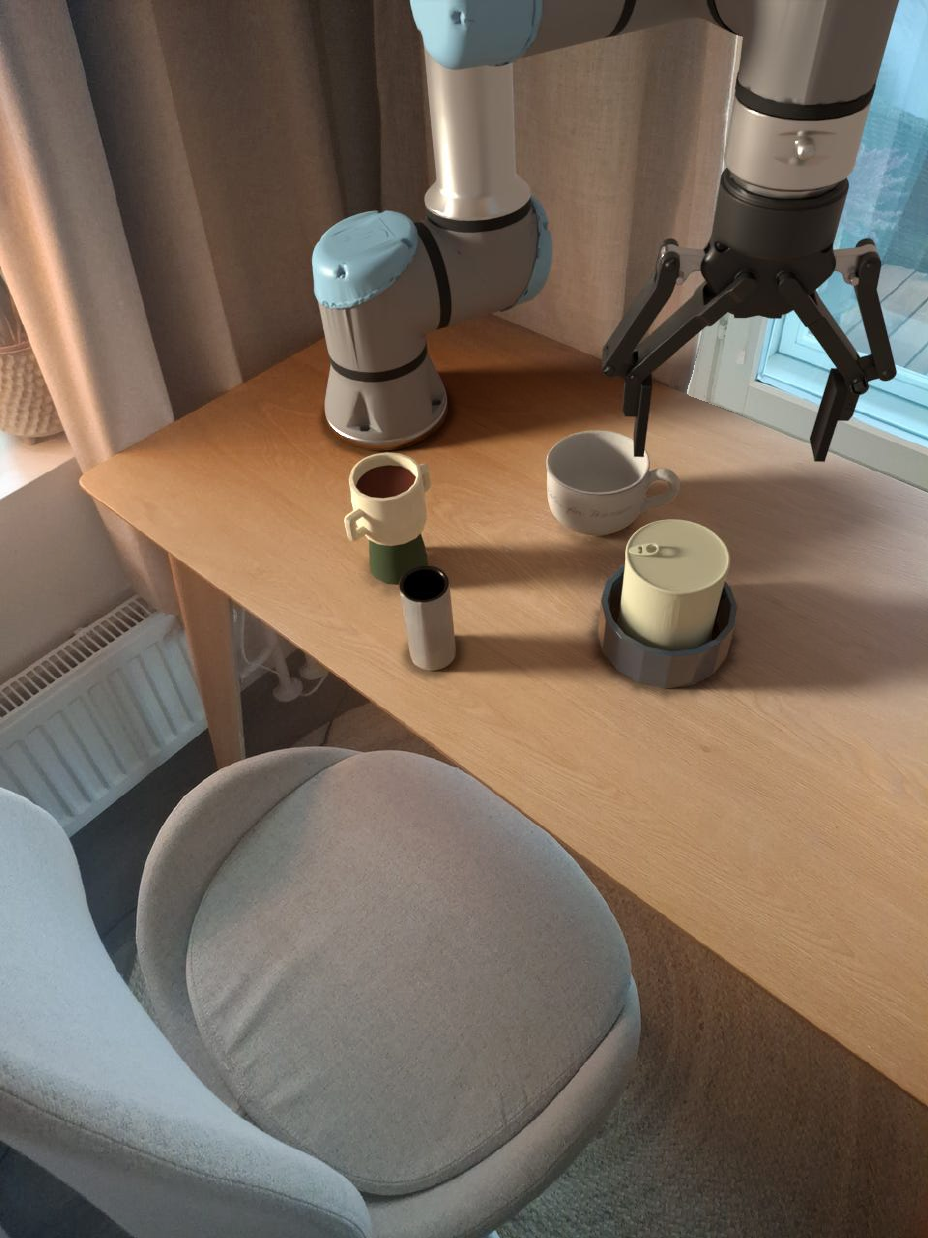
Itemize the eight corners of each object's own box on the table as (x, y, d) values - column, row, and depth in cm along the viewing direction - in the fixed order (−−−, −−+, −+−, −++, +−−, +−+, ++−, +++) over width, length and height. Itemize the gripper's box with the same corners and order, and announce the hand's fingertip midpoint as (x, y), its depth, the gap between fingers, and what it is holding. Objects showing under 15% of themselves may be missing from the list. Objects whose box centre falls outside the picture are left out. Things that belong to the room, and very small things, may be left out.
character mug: (414, 525, 101) (401, 432, 91) (459, 556, 97) (451, 463, 87) (339, 579, 96) (317, 487, 86) (383, 614, 93) (366, 522, 83)
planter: (400, 655, 89) (388, 585, 81) (432, 627, 91) (423, 557, 83) (433, 679, 87) (424, 610, 79) (465, 650, 89) (459, 580, 81)
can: (618, 596, 93) (628, 510, 83) (710, 605, 91) (731, 518, 82) (612, 668, 87) (622, 584, 78) (711, 678, 85) (733, 594, 76)
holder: (575, 618, 91) (577, 585, 87) (676, 572, 94) (682, 538, 90) (647, 708, 84) (652, 676, 80) (754, 654, 87) (765, 621, 83)
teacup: (529, 531, 99) (529, 476, 93) (568, 471, 105) (571, 415, 99) (650, 571, 95) (659, 515, 88) (684, 505, 100) (695, 449, 94)
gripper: (575, 201, 54) (564, 475, 70) (1023, 200, 51) (903, 485, 67) (578, 145, 58) (567, 414, 75) (989, 141, 56) (884, 421, 72)
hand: (726, 448), depth 71 cm, fingers open, 13 cm apart
